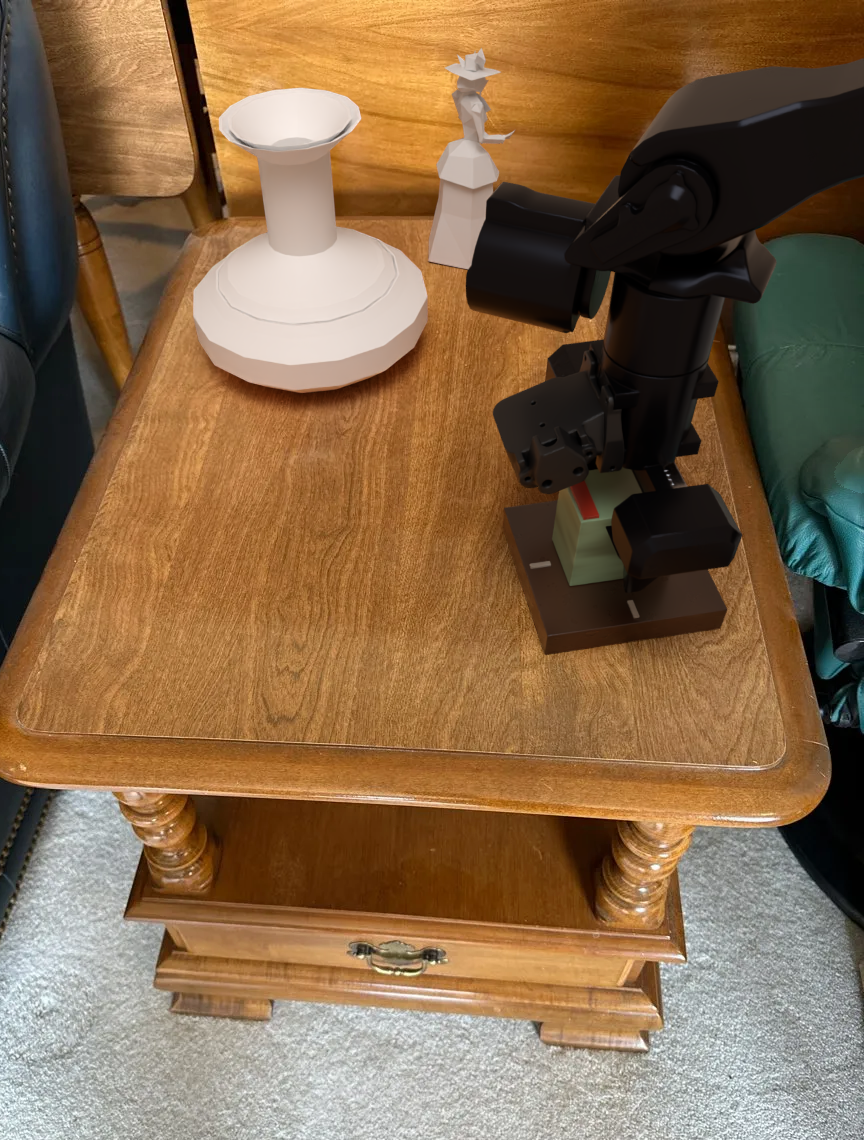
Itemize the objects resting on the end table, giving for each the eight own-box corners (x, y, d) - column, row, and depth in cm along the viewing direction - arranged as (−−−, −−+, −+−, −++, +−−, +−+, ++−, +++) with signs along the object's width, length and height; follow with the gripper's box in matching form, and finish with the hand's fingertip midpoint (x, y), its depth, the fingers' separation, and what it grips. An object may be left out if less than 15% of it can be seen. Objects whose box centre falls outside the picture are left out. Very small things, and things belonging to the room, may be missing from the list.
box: (649, 525, 67) (666, 456, 62) (671, 572, 64) (691, 504, 59) (551, 538, 66) (561, 470, 61) (569, 586, 63) (581, 519, 58)
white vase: (418, 423, 77) (415, 187, 62) (178, 414, 79) (119, 183, 64) (435, 286, 90) (436, 61, 75) (227, 281, 92) (187, 61, 76)
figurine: (516, 248, 93) (532, 44, 79) (453, 278, 90) (458, 72, 76) (469, 221, 97) (477, 21, 83) (407, 248, 94) (403, 46, 80)
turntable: (660, 504, 71) (666, 483, 69) (720, 628, 63) (728, 607, 62) (501, 527, 70) (503, 505, 68) (544, 655, 62) (547, 634, 61)
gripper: (474, 271, 57) (466, 469, 69) (557, 480, 46) (530, 673, 58) (654, 250, 58) (615, 449, 70) (781, 450, 46) (707, 646, 59)
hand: (612, 545), depth 64 cm, fingers open, 8 cm apart
